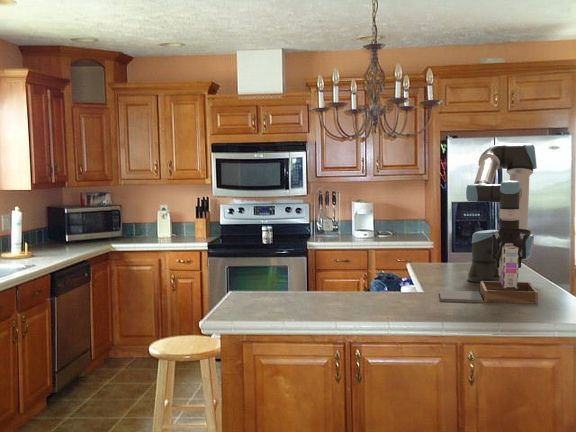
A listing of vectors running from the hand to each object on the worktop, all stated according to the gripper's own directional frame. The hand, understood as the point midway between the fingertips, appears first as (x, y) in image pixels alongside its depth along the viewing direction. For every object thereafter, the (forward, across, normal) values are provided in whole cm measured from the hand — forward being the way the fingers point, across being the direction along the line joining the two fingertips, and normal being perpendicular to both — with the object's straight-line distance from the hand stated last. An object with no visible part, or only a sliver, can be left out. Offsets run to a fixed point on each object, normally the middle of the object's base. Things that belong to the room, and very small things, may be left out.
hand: (508, 275), depth 265 cm
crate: (+9, 0, -1) cm, 9 cm away
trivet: (+9, -19, -5) cm, 22 cm away
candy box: (+4, 0, 0) cm, 4 cm away
